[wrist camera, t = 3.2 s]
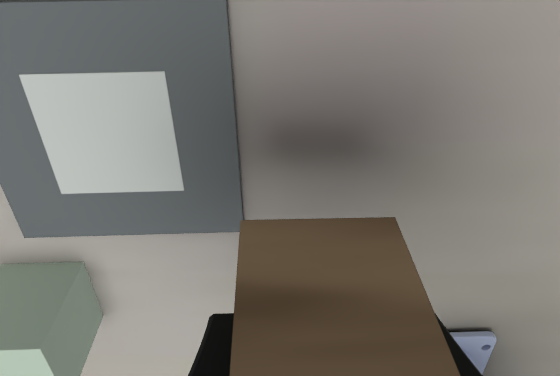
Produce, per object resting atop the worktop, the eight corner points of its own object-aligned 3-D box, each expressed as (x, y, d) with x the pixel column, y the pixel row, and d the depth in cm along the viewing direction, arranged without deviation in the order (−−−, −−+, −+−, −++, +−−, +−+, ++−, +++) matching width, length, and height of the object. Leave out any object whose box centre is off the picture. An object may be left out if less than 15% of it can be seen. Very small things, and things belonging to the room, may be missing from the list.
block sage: (103, 315, 24) (68, 404, 19) (29, 317, 23) (-22, 407, 19) (84, 261, 21) (40, 349, 17) (2, 263, 21) (-62, 352, 17)
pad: (243, 226, 20) (243, 232, 20) (28, 232, 20) (23, 238, 20) (226, -4, 15) (225, -2, 14) (-73, 1, 14) (-82, 4, 14)
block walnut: (375, 319, 13) (425, 506, 9) (246, 322, 13) (239, 514, 9) (395, 217, 11) (472, 405, 7) (240, 220, 11) (227, 412, 7)
